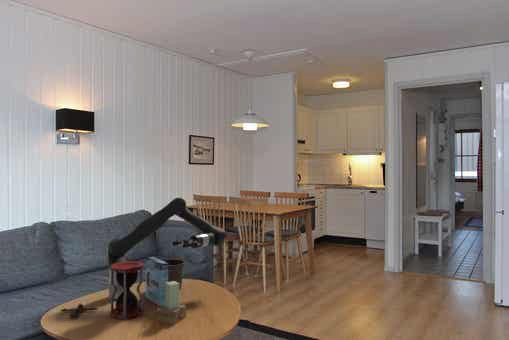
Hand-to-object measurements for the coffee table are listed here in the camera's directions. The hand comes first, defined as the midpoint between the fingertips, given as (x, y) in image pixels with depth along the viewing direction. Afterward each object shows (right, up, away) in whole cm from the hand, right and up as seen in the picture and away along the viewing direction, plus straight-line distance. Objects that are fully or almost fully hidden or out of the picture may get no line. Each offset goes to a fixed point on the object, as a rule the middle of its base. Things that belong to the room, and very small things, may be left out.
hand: (177, 244), depth 227 cm
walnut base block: (+1, -32, -24) cm, 40 cm away
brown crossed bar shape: (-48, -32, -18) cm, 60 cm away
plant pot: (-9, -32, +28) cm, 43 cm away
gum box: (-13, -32, +3) cm, 35 cm away
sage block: (+1, -26, -24) cm, 35 cm away
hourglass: (-23, -32, -17) cm, 43 cm away
